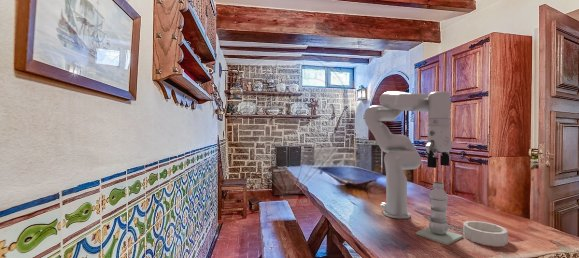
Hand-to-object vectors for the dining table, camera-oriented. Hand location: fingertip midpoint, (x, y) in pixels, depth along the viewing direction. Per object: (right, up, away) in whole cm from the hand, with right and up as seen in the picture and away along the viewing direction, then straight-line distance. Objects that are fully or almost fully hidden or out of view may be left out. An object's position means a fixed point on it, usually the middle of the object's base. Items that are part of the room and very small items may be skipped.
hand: (438, 166), depth 105 cm
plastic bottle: (0, -27, 0) cm, 27 cm away
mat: (0, -27, 0) cm, 27 cm away
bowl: (+16, -27, -3) cm, 32 cm away
